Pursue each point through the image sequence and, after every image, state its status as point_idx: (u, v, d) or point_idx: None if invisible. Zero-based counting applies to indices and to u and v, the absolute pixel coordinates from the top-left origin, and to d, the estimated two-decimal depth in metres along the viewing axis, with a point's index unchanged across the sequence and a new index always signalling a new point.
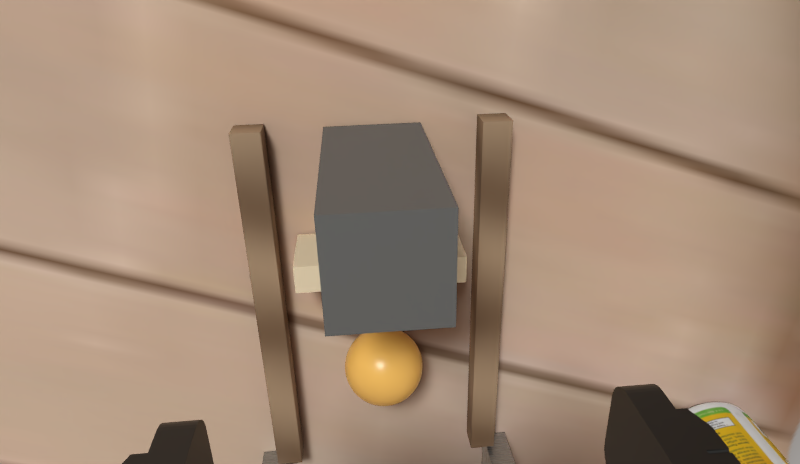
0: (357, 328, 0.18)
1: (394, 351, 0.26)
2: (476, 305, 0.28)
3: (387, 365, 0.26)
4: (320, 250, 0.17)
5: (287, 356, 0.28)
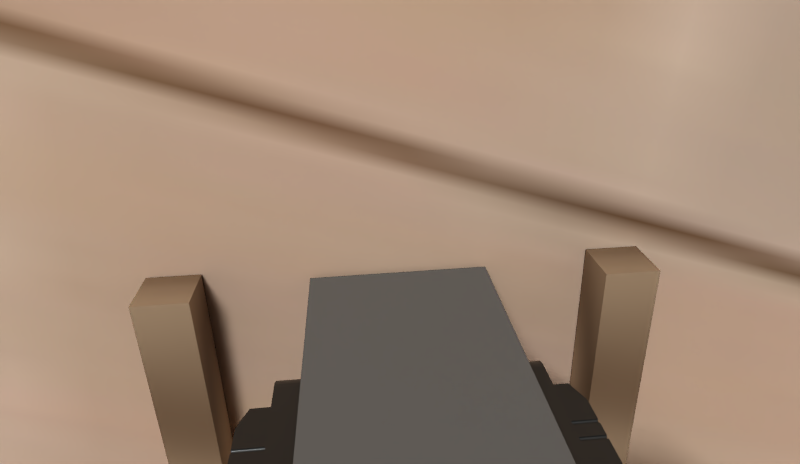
0: None
1: None
2: None
3: None
4: None
5: None
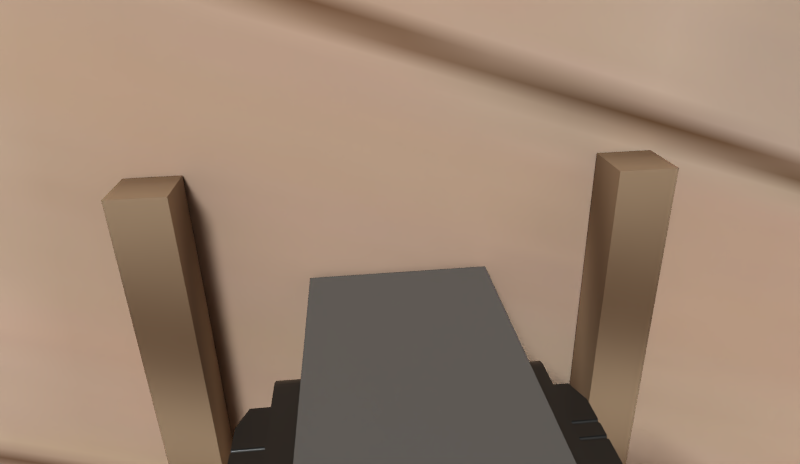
0: None
1: None
2: None
3: None
4: None
5: None
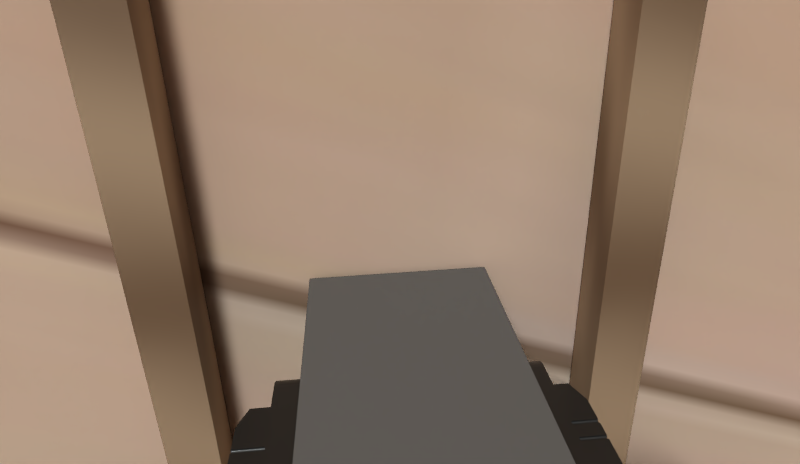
0: None
1: None
2: (608, 244, 0.13)
3: None
4: None
5: (197, 358, 0.13)
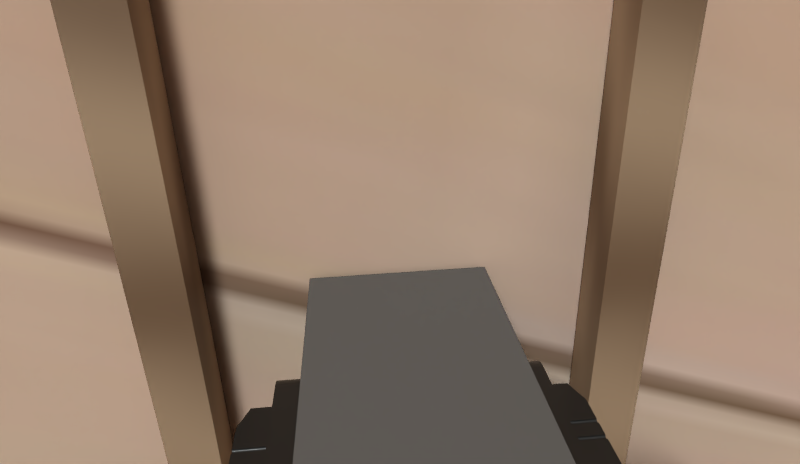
0: None
1: None
2: (609, 243, 0.13)
3: None
4: None
5: (197, 357, 0.13)
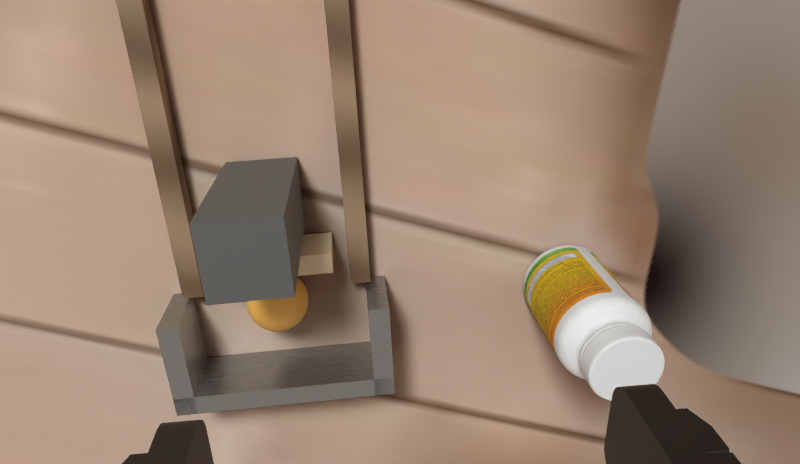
0: (227, 299, 0.27)
1: None
2: (338, 142, 0.33)
3: None
4: (195, 246, 0.26)
5: (180, 191, 0.33)
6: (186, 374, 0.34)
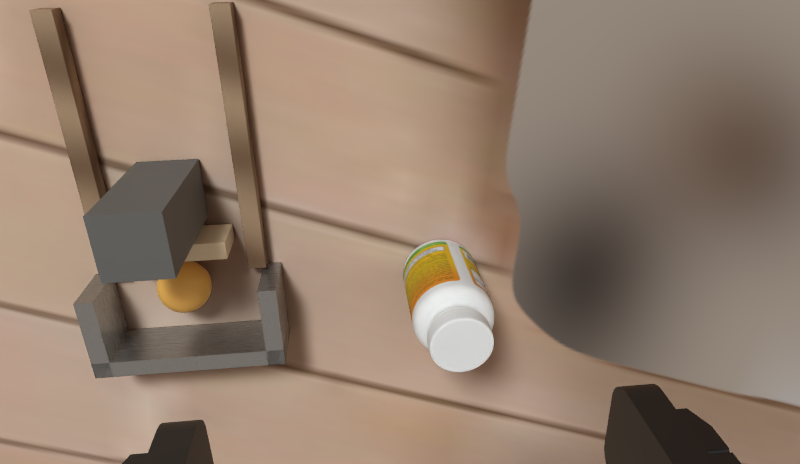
0: (119, 279, 0.33)
1: None
2: (231, 148, 0.38)
3: None
4: (89, 235, 0.32)
5: (95, 186, 0.39)
6: (101, 342, 0.40)
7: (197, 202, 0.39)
